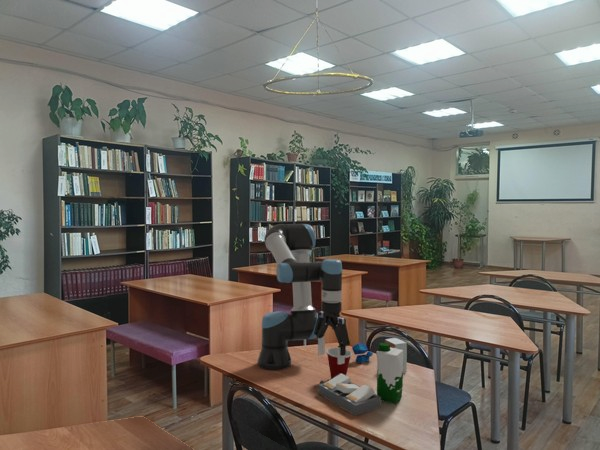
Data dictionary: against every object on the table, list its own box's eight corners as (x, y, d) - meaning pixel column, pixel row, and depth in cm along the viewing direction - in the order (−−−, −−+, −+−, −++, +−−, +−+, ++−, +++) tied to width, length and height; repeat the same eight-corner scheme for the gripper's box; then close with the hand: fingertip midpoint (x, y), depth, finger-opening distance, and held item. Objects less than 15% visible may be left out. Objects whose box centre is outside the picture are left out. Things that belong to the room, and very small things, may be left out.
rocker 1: (324, 388, 159) (323, 383, 159) (342, 377, 164) (341, 372, 164) (332, 392, 155) (331, 388, 155) (350, 381, 160) (349, 377, 160)
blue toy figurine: (377, 346, 196) (360, 345, 189) (374, 365, 195) (357, 364, 188) (365, 342, 202) (348, 341, 194) (362, 360, 201) (345, 360, 193)
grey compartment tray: (309, 388, 164) (309, 379, 164) (333, 381, 171) (333, 372, 171) (355, 415, 142) (355, 405, 142) (380, 406, 149) (381, 396, 149)
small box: (383, 368, 187) (384, 339, 187) (395, 366, 190) (396, 337, 189) (394, 374, 180) (395, 344, 179) (406, 372, 182) (407, 342, 182)
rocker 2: (335, 388, 154) (336, 382, 154) (353, 389, 159) (354, 383, 159) (344, 392, 150) (345, 387, 150) (362, 393, 155) (363, 388, 155)
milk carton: (382, 391, 162) (382, 340, 162) (405, 397, 157) (405, 344, 157) (373, 399, 155) (374, 346, 154) (397, 405, 150) (398, 350, 149)
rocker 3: (346, 401, 148) (345, 396, 148) (365, 388, 153) (364, 384, 153) (356, 406, 144) (355, 401, 144) (374, 393, 149) (373, 388, 149)
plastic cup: (350, 386, 167) (351, 356, 166) (323, 384, 169) (324, 354, 168) (353, 376, 177) (353, 348, 177) (327, 374, 179) (327, 346, 179)
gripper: (305, 296, 164) (304, 352, 165) (344, 308, 145) (343, 370, 146) (320, 294, 169) (319, 348, 169) (360, 305, 149) (359, 366, 150)
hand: (330, 359), depth 157 cm, fingers open, 11 cm apart
